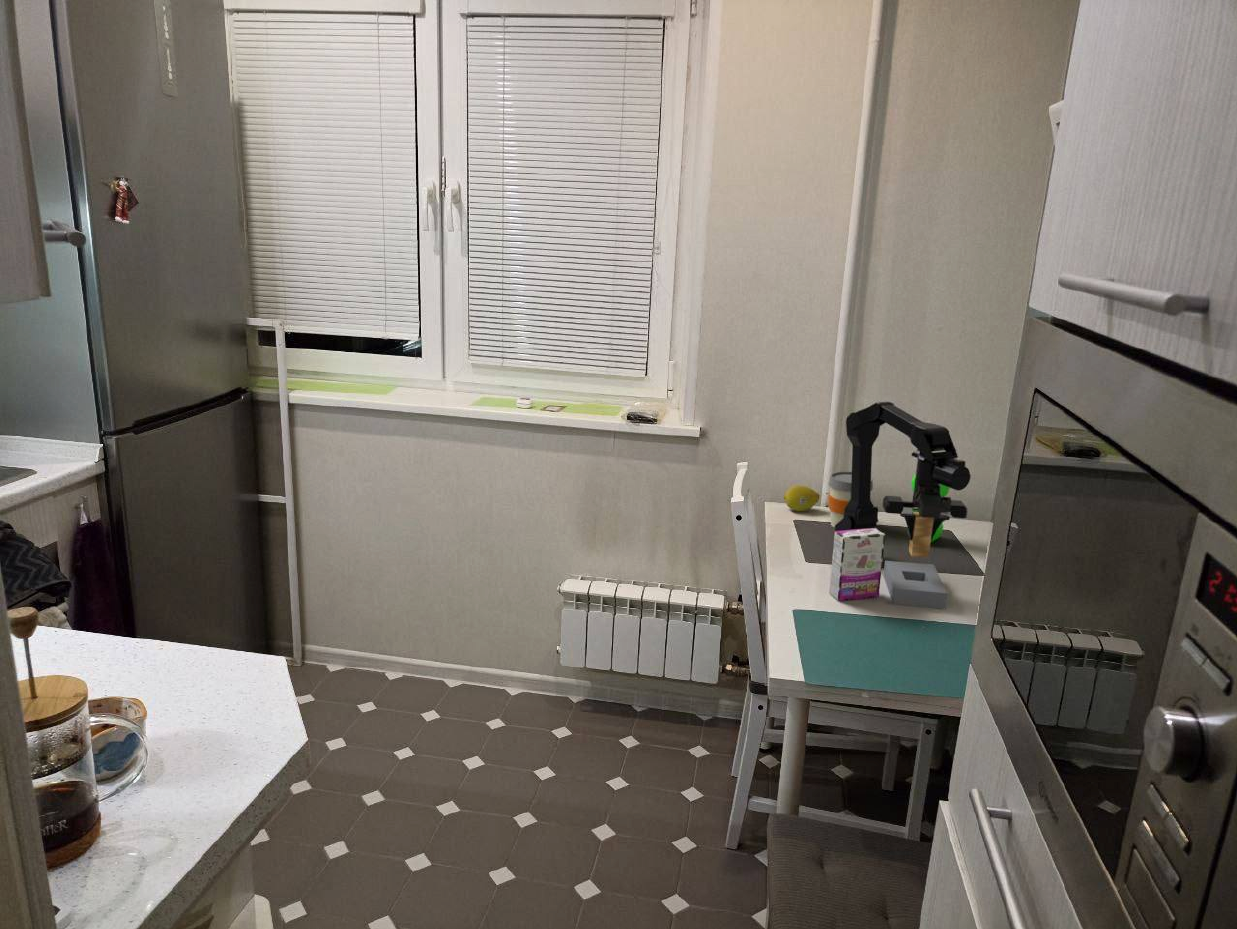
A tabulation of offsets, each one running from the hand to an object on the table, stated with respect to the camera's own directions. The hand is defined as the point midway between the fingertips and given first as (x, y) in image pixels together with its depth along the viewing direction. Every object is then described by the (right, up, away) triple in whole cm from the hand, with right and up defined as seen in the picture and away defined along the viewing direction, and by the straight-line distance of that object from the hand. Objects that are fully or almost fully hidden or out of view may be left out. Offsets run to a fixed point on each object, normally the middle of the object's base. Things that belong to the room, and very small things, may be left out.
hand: (920, 540), depth 219 cm
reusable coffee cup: (-6, 0, +49) cm, 49 cm away
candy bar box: (-16, -14, 0) cm, 21 cm away
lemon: (-17, +4, +61) cm, 63 cm away
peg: (0, -3, +1) cm, 4 cm away
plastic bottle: (+14, -3, +39) cm, 42 cm away
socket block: (-1, -13, +3) cm, 13 cm away
